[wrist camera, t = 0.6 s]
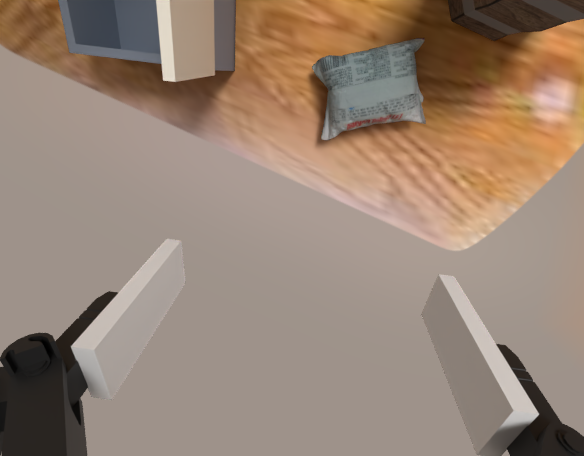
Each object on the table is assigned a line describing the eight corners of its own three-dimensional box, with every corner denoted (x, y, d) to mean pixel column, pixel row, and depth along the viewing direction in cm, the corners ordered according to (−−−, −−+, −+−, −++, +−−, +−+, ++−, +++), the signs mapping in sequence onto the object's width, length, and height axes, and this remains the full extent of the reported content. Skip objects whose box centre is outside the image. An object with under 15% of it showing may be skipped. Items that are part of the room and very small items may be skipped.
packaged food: (418, 120, 36) (431, 126, 32) (321, 137, 38) (321, 145, 33) (418, 38, 32) (433, 31, 28) (310, 61, 34) (309, 58, 30)
